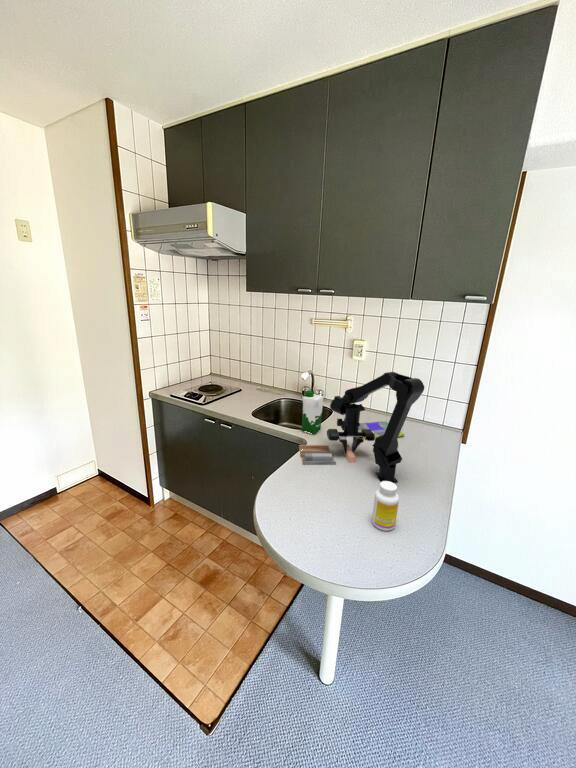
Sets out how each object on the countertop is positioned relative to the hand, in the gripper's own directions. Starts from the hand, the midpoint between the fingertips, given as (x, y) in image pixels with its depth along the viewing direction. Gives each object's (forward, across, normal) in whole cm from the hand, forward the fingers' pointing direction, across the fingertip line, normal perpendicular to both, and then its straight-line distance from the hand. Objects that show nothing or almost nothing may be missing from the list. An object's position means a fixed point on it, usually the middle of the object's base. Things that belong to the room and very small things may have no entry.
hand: (348, 453), depth 130 cm
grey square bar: (+1, +14, +4) cm, 14 cm away
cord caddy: (+2, +14, 0) cm, 14 cm away
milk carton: (+2, +12, -26) cm, 29 cm away
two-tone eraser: (+1, 0, 0) cm, 1 cm away
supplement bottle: (+2, 0, +40) cm, 40 cm away
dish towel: (+2, -20, -26) cm, 33 cm away
